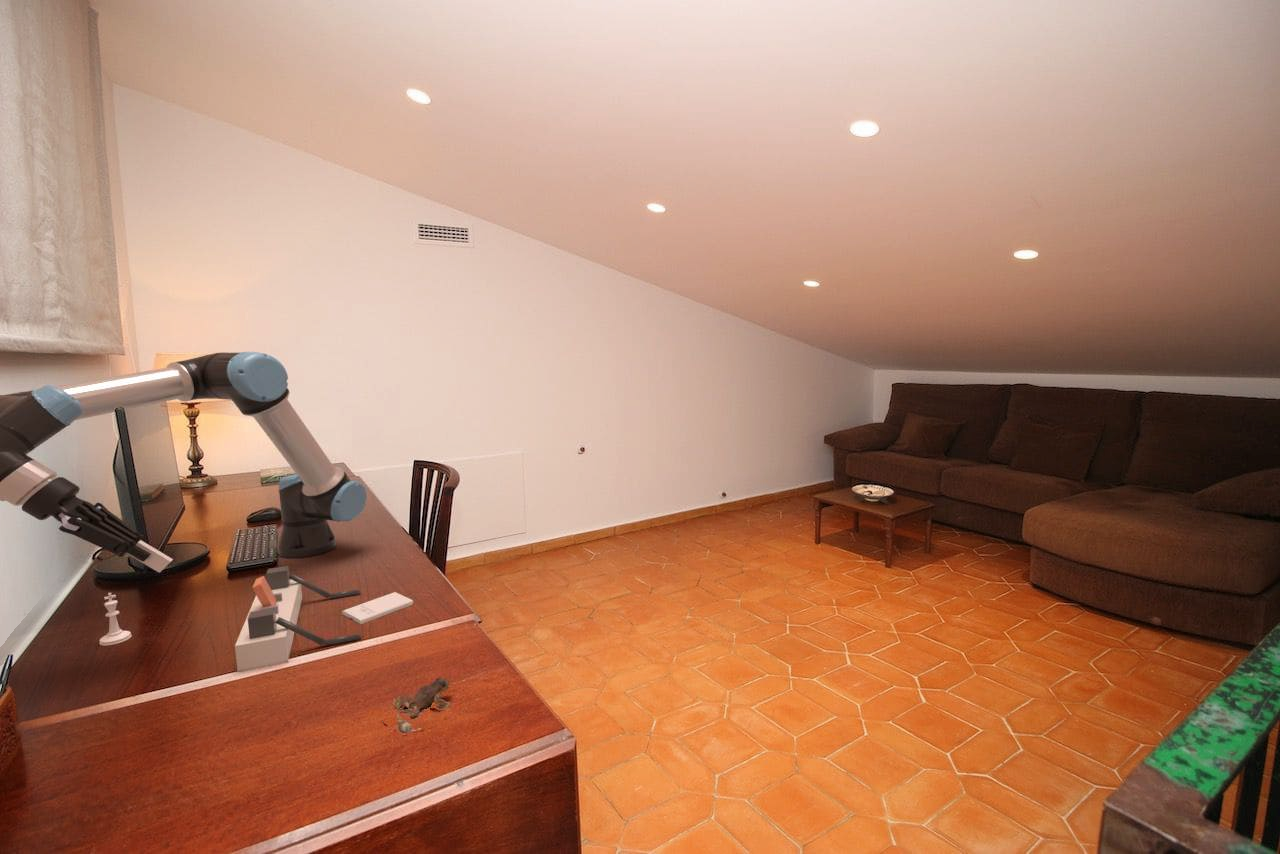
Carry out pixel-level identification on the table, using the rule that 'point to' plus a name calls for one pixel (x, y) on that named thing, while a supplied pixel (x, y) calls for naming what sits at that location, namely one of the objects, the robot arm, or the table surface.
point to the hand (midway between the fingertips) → (166, 565)
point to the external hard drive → (377, 607)
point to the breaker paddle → (264, 592)
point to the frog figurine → (420, 702)
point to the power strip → (279, 622)
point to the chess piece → (113, 625)
